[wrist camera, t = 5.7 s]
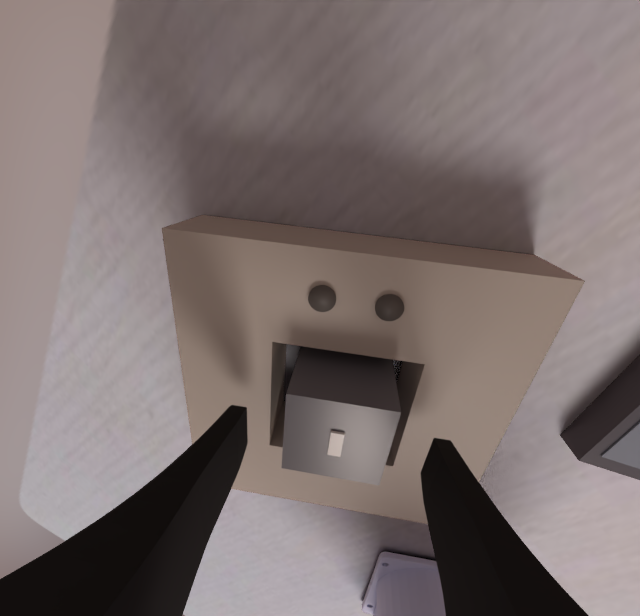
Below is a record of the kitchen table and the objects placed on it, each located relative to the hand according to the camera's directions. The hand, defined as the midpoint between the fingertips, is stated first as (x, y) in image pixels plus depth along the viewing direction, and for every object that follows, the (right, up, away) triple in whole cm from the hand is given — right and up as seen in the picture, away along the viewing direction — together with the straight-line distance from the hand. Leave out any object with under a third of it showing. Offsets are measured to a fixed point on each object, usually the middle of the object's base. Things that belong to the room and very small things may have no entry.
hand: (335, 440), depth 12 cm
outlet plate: (+1, +2, +4) cm, 5 cm away
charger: (+1, +2, +4) cm, 5 cm away
